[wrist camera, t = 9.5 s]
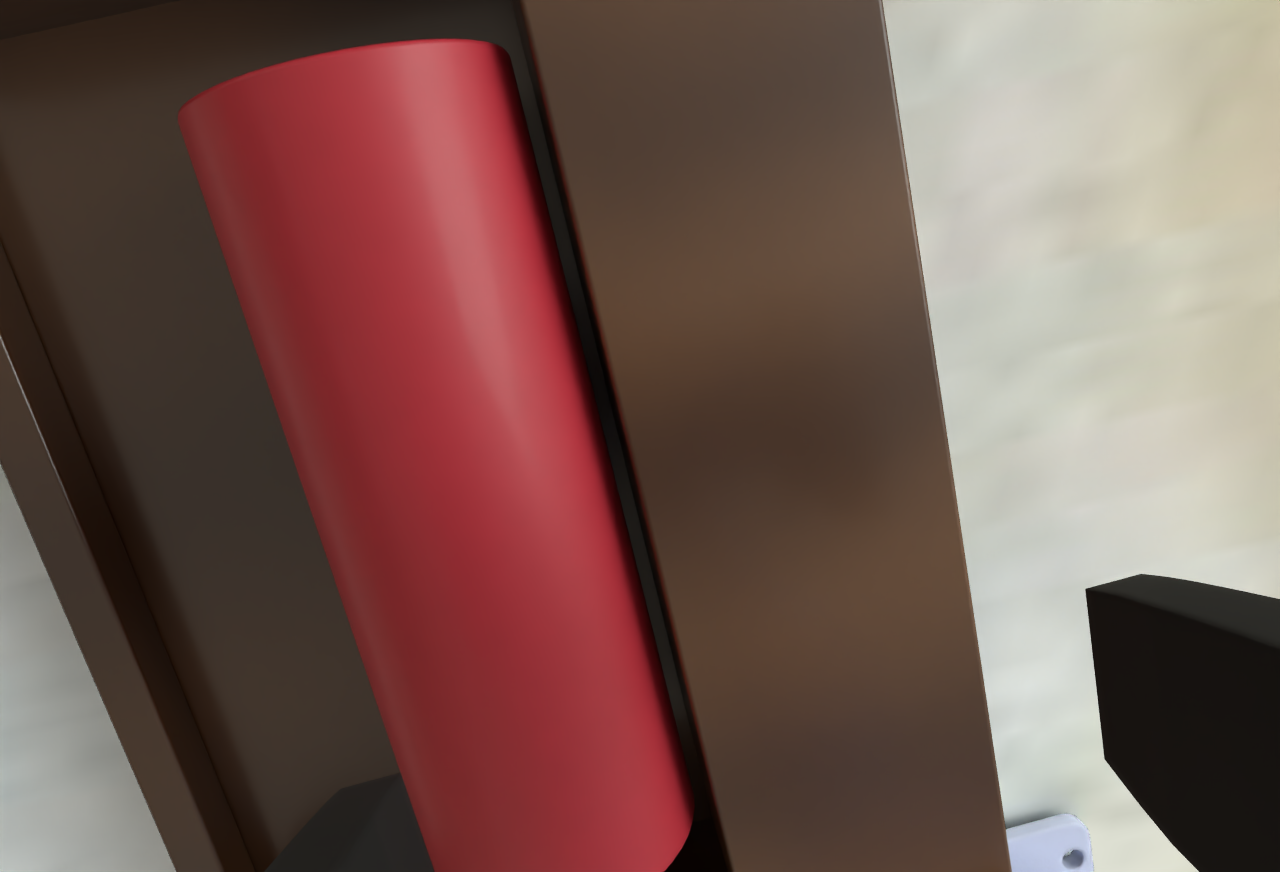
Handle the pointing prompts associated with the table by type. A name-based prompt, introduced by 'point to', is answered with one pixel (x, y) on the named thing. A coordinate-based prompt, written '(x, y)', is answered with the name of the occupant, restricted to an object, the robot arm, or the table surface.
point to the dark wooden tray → (624, 391)
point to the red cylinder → (450, 446)
